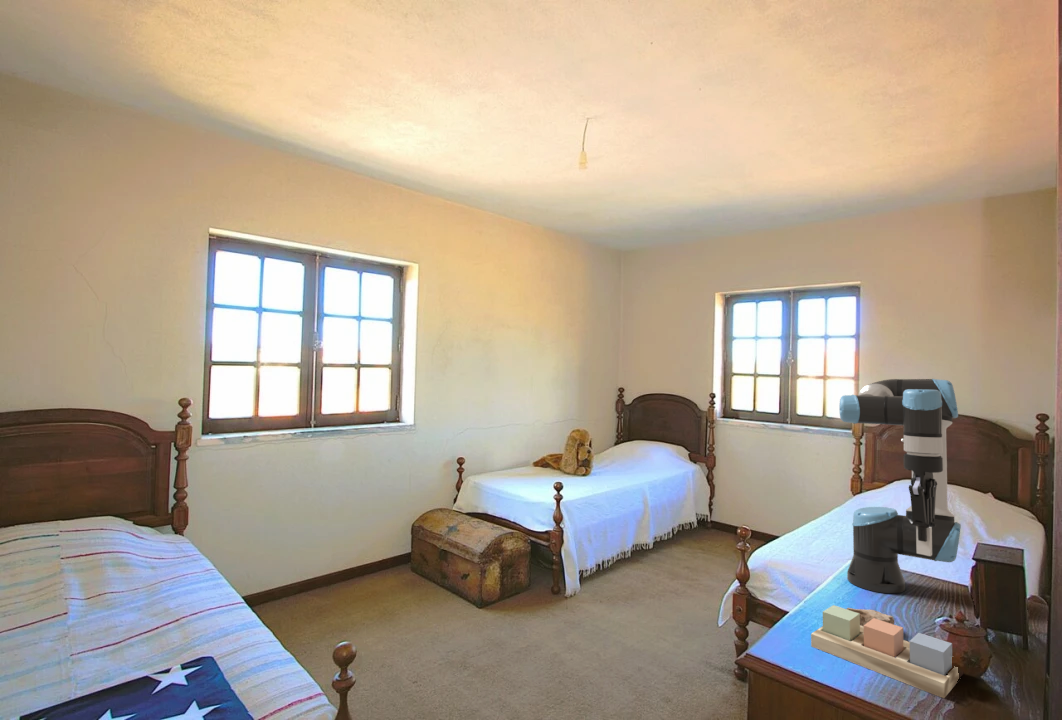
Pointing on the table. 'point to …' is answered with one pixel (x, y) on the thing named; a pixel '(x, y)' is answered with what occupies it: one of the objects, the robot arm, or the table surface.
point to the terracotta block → (883, 637)
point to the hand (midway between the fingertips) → (924, 554)
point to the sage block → (841, 622)
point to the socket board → (886, 662)
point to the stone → (872, 616)
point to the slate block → (931, 653)
